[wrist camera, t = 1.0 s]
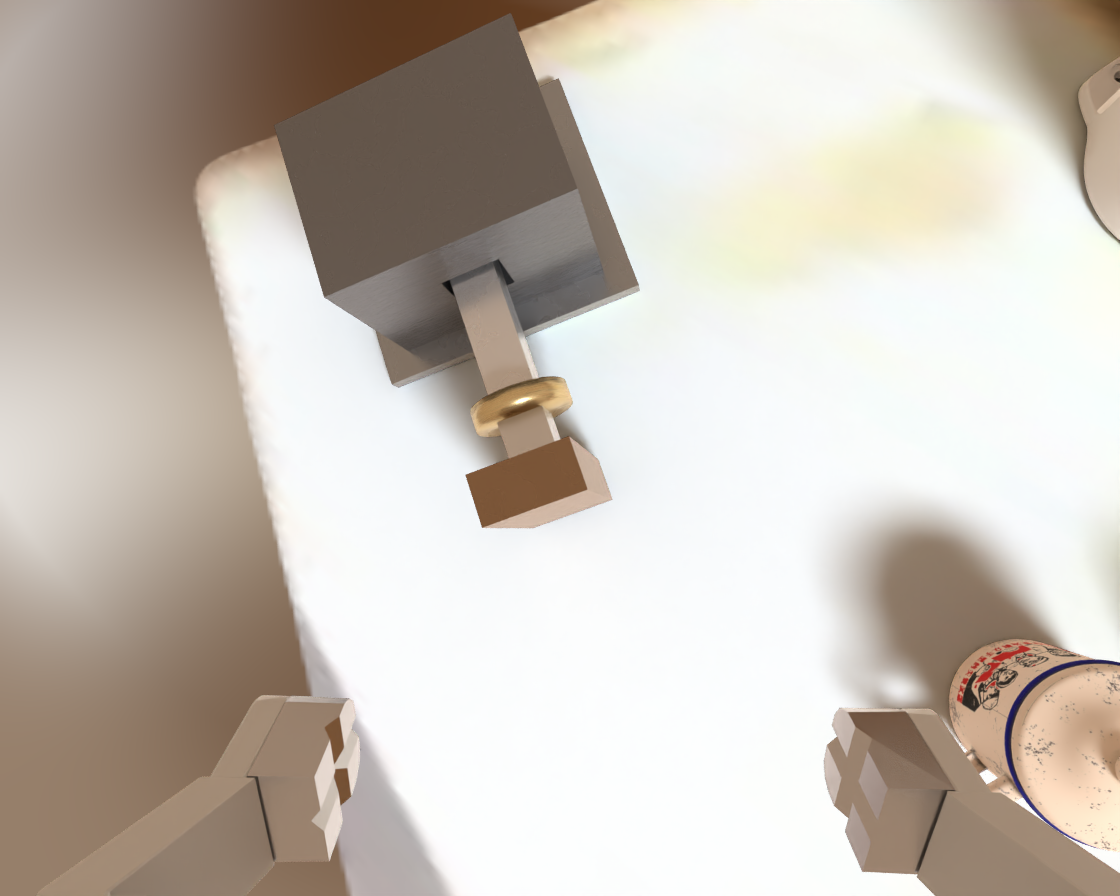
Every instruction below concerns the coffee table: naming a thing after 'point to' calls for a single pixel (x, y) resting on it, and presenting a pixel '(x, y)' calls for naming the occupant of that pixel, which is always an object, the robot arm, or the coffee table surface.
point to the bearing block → (452, 198)
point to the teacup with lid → (1045, 733)
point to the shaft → (520, 418)
